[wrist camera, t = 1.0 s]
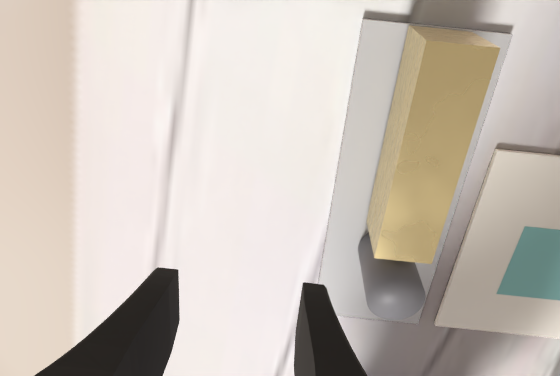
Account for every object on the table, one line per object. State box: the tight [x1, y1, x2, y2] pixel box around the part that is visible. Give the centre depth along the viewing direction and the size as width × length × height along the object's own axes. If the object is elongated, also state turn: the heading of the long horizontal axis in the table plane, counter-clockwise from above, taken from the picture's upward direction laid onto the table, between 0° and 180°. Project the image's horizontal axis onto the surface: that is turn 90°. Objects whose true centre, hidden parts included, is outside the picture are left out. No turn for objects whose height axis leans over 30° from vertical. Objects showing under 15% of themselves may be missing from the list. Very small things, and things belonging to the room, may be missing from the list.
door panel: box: [318, 19, 560, 339], centre depth 20 cm, size 16×14×4 cm
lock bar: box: [366, 25, 500, 264], centre depth 19 cm, size 9×2×3 cm, turn 175°
